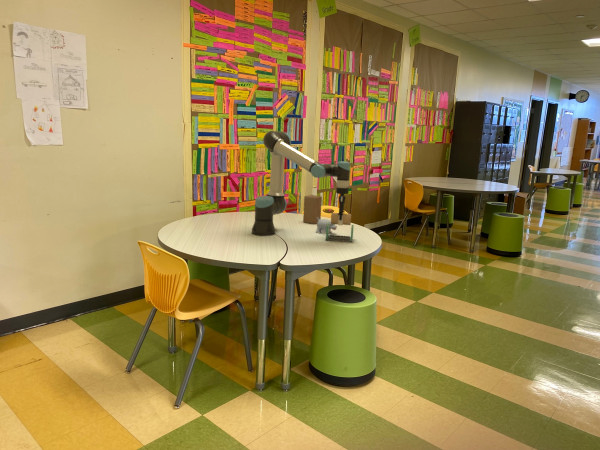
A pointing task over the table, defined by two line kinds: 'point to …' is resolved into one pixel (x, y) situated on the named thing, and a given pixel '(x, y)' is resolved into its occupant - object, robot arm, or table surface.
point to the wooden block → (312, 209)
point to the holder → (337, 237)
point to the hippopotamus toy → (324, 226)
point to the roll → (345, 218)
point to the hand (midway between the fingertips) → (340, 224)
